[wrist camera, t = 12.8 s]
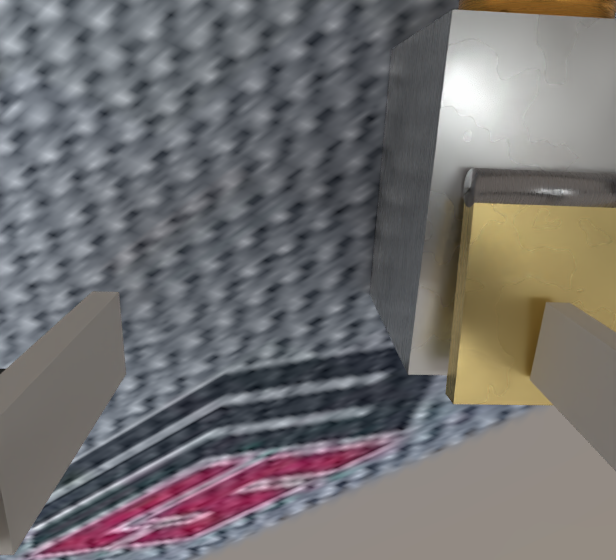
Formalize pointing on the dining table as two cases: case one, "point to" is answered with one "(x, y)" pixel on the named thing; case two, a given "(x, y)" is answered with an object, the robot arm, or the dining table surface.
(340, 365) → the dining table surface
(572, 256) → the plate
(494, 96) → the block
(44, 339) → the robot arm
